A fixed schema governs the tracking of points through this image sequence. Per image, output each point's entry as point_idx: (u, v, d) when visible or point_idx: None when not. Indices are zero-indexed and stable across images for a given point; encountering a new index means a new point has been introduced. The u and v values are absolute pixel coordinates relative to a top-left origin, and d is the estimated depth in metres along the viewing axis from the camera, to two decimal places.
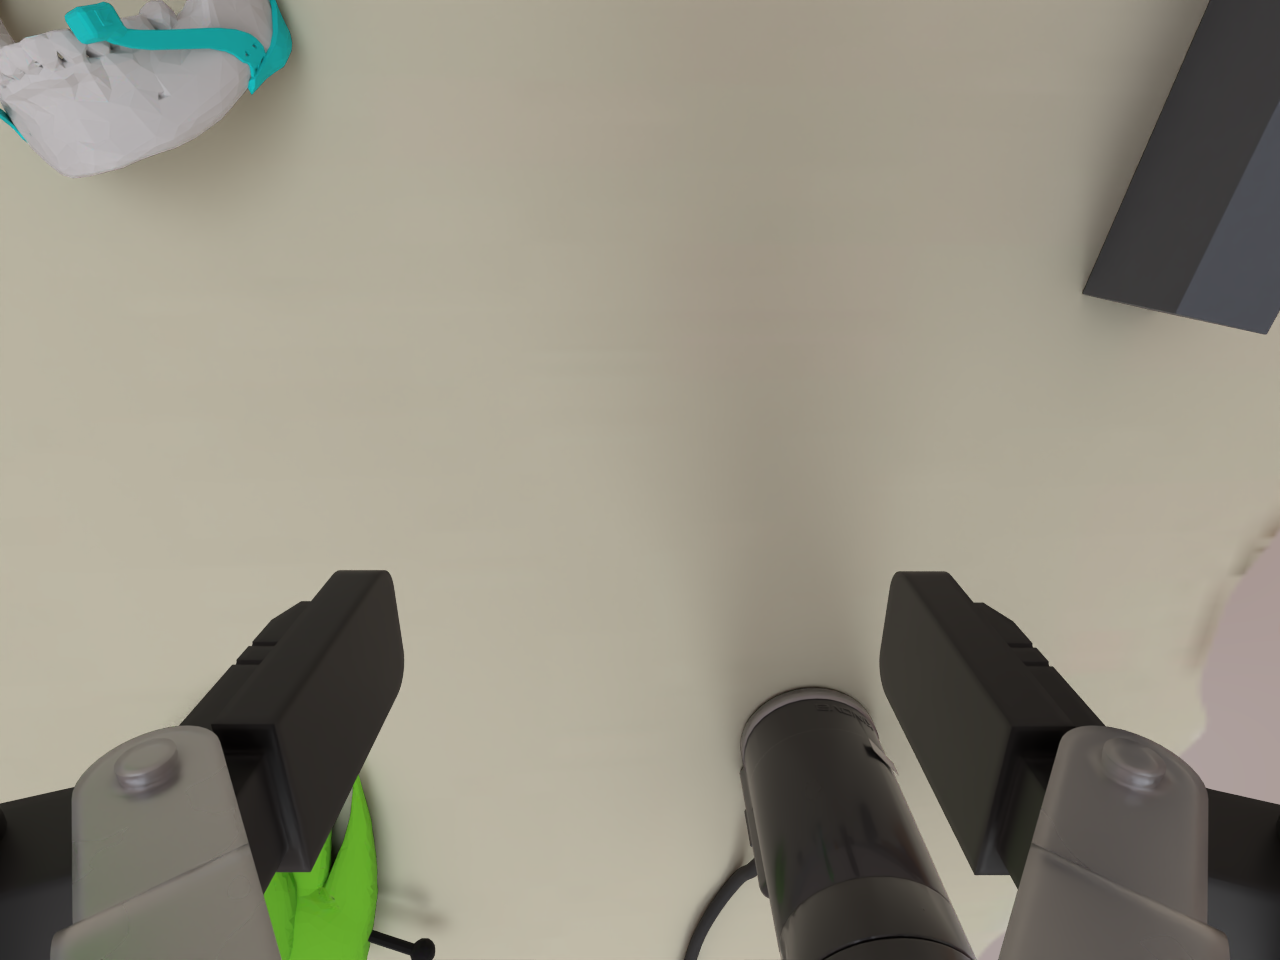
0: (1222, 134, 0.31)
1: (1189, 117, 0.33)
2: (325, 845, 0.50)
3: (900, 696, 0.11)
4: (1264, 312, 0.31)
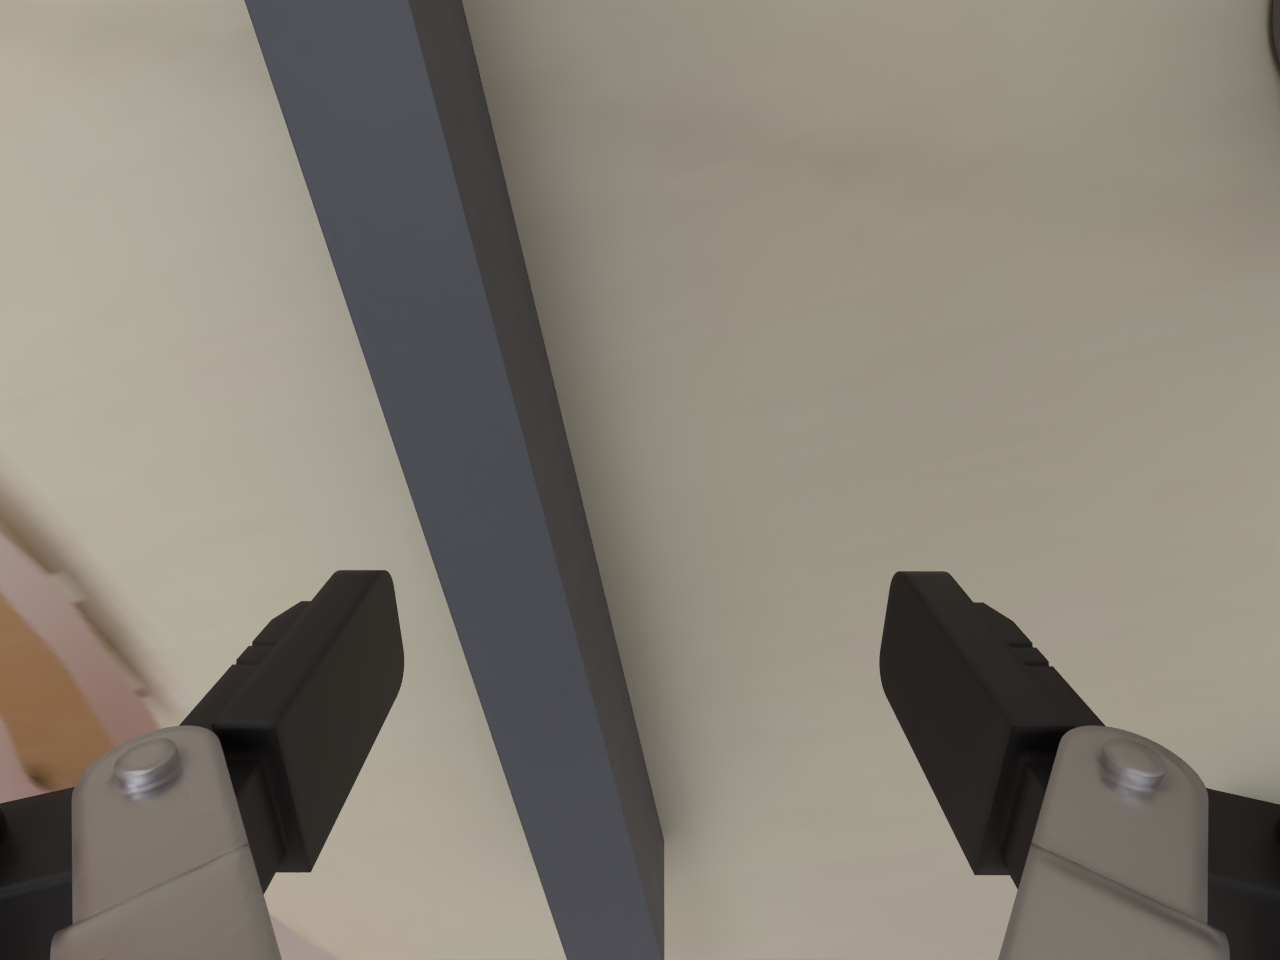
0: None
1: None
2: None
3: (900, 696, 0.11)
4: None
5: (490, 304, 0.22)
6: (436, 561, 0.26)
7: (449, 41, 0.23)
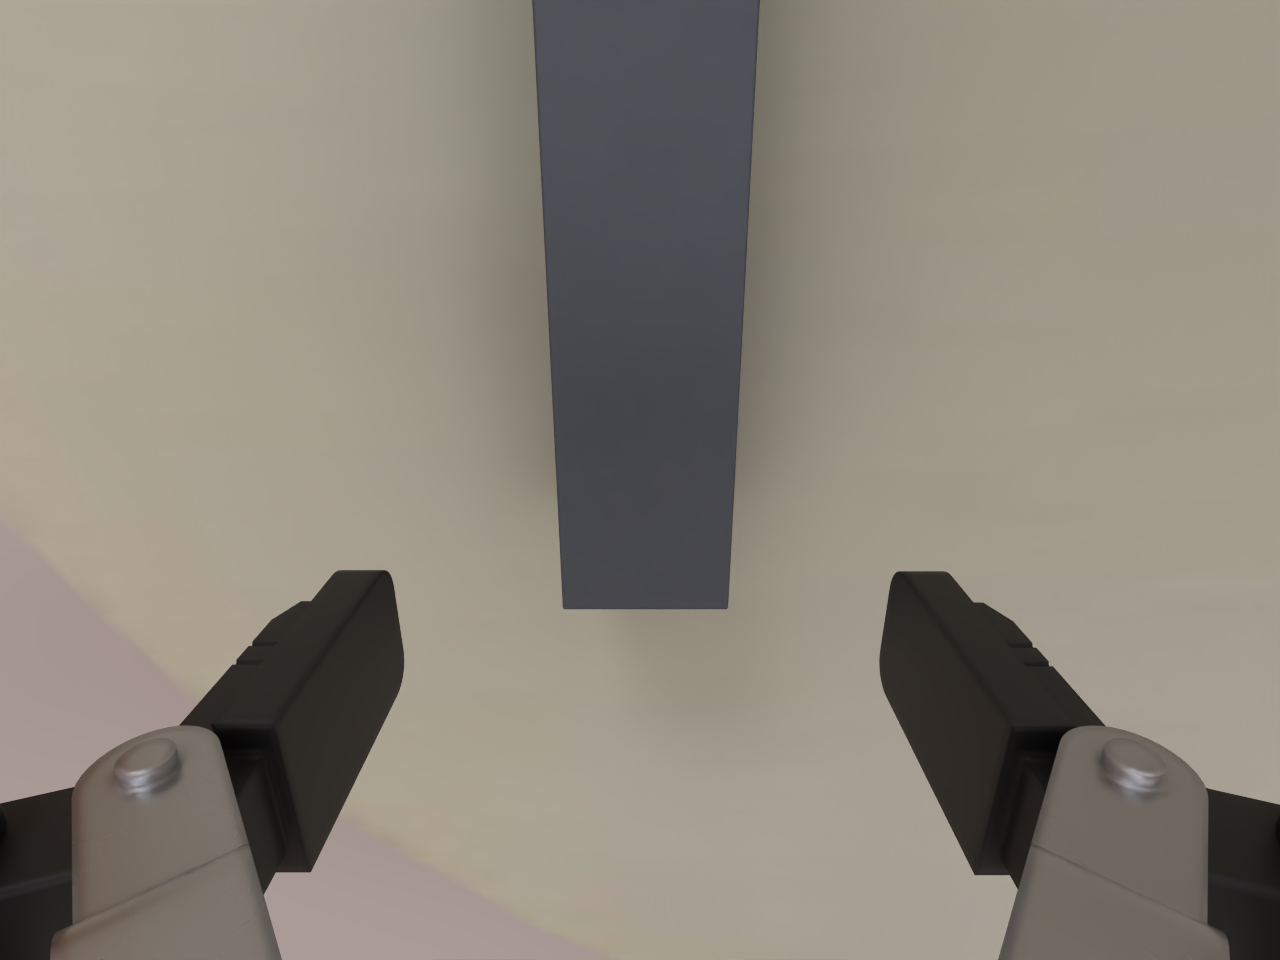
0: None
1: None
2: None
3: (900, 696, 0.11)
4: None
5: None
6: None
7: None
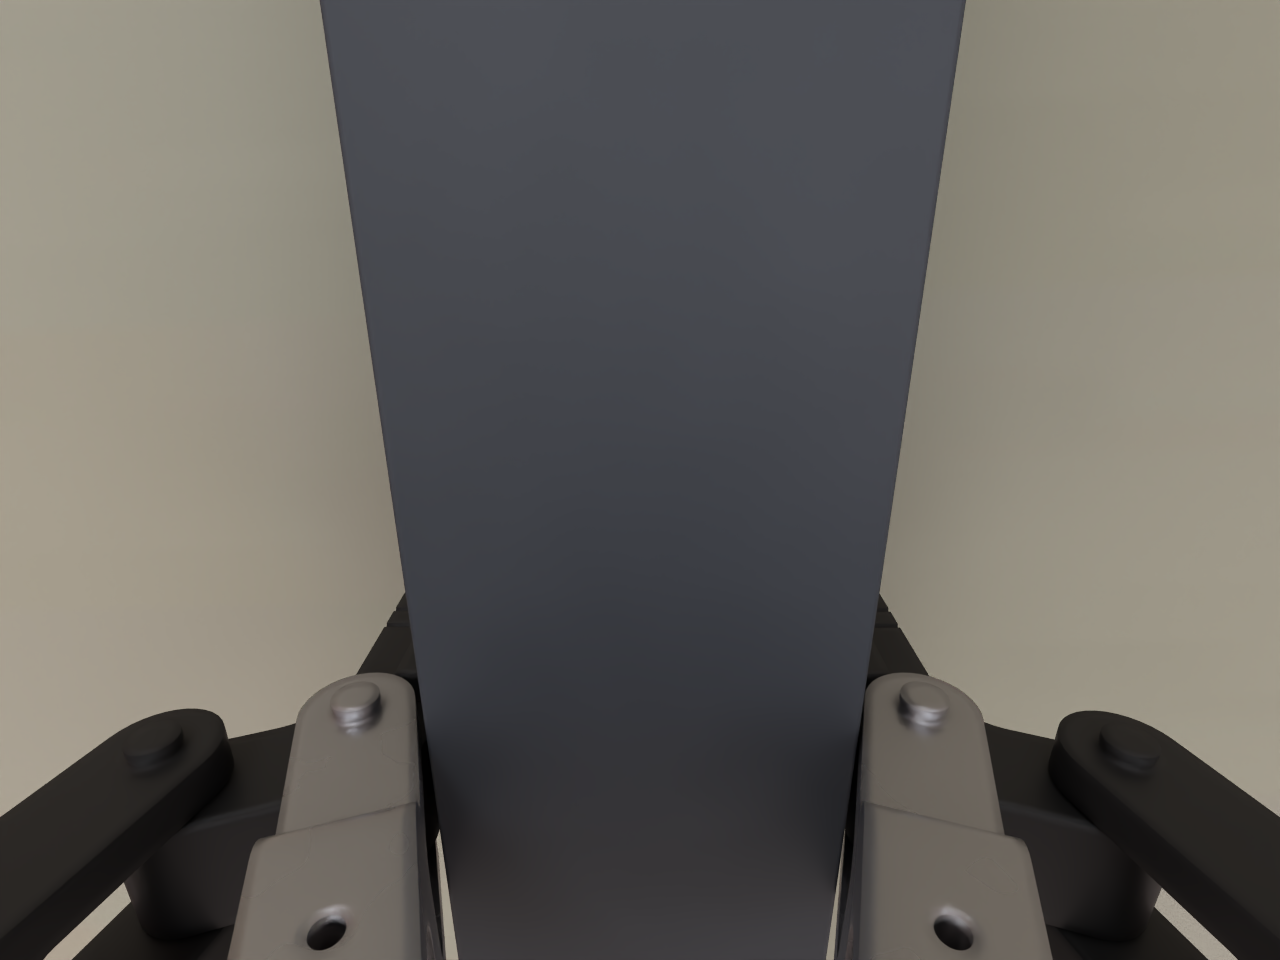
0: None
1: None
2: None
3: None
4: None
5: None
6: None
7: None
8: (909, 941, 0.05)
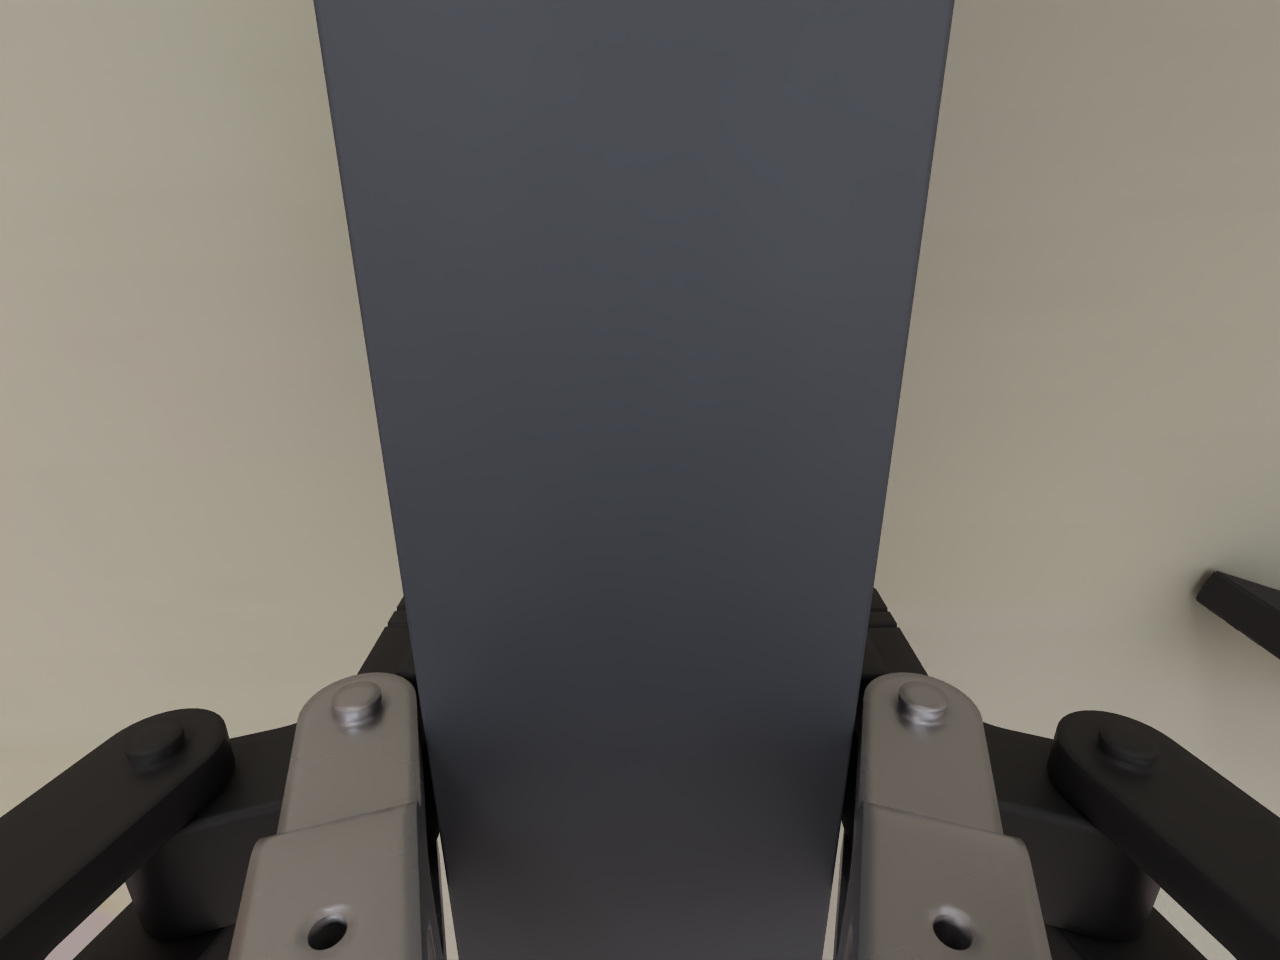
0: None
1: None
2: None
3: None
4: None
5: None
6: None
7: None
8: (908, 941, 0.05)
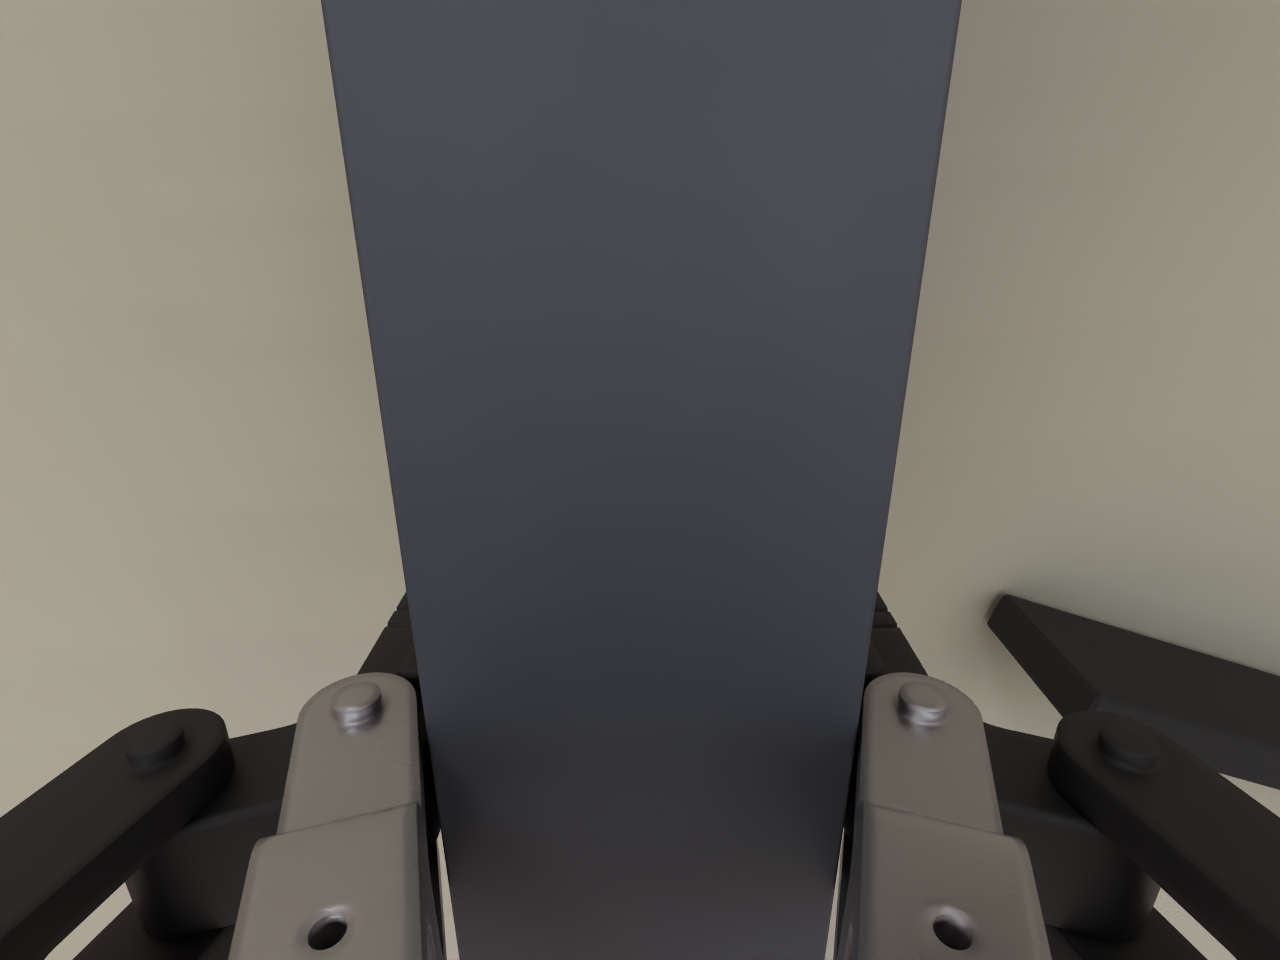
0: None
1: None
2: None
3: None
4: None
5: None
6: None
7: None
8: (909, 941, 0.05)
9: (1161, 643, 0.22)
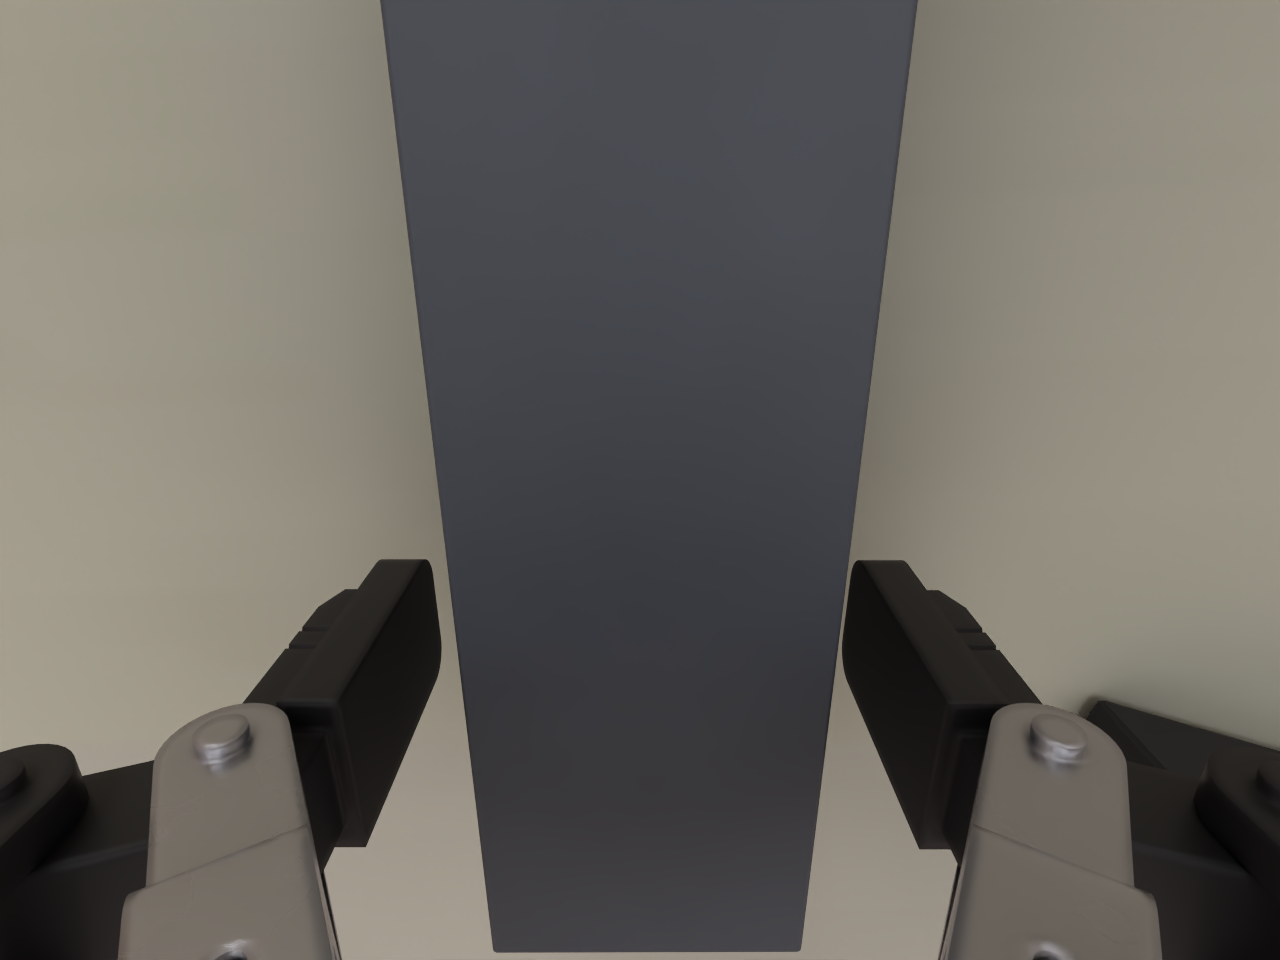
0: None
1: None
2: None
3: (859, 681, 0.11)
4: None
5: None
6: None
7: None
8: None
9: None
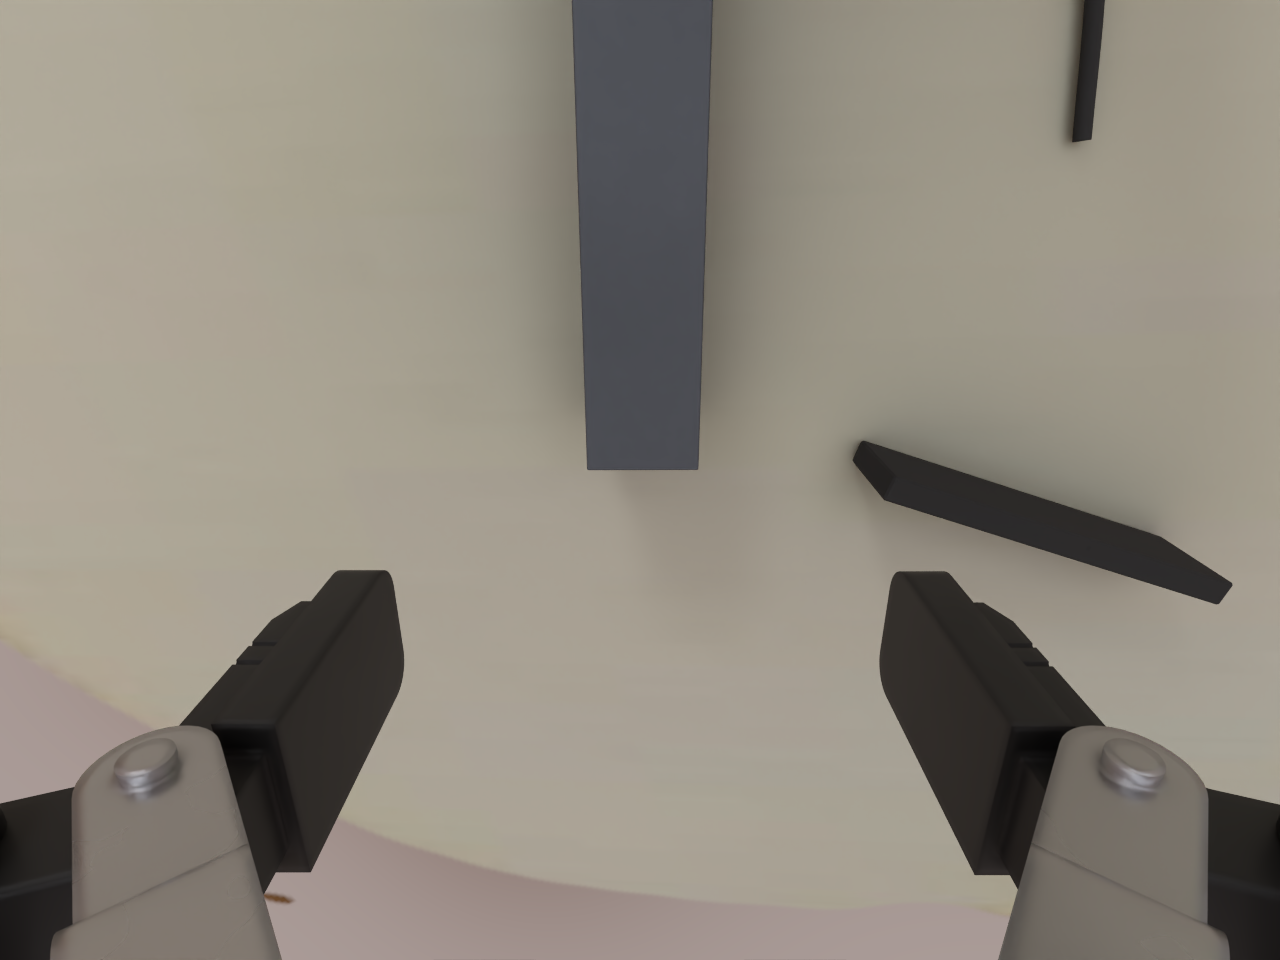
0: None
1: None
2: None
3: (900, 696, 0.11)
4: None
5: None
6: None
7: None
8: None
9: (961, 473, 0.36)
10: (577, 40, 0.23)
